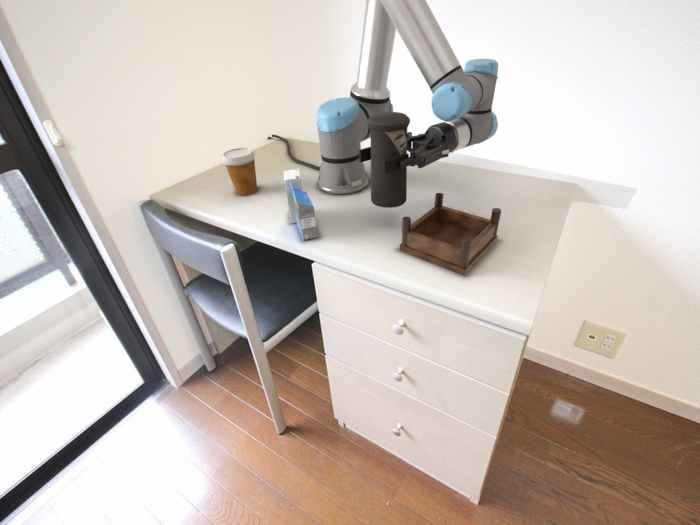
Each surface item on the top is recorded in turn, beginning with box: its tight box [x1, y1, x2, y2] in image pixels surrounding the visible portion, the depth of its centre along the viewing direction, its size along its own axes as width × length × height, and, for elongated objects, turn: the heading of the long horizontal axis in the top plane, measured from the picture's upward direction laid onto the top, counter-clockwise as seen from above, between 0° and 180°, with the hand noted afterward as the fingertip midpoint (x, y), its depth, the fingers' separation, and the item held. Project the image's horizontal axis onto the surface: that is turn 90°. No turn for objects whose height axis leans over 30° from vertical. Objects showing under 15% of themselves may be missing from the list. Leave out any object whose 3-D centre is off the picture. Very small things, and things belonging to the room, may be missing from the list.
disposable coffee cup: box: [221, 147, 258, 196], centre depth 110 cm, size 10×10×12 cm
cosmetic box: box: [283, 168, 304, 224], centre depth 94 cm, size 6×4×12 cm
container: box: [367, 111, 411, 209], centre depth 83 cm, size 9×9×20 cm
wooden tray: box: [399, 192, 502, 277], centre depth 80 cm, size 16×16×8 cm
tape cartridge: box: [289, 180, 319, 241], centre depth 88 cm, size 9×4×12 cm, turn 17°
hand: (371, 161), depth 80 cm, fingers closed on container, 8 cm apart
